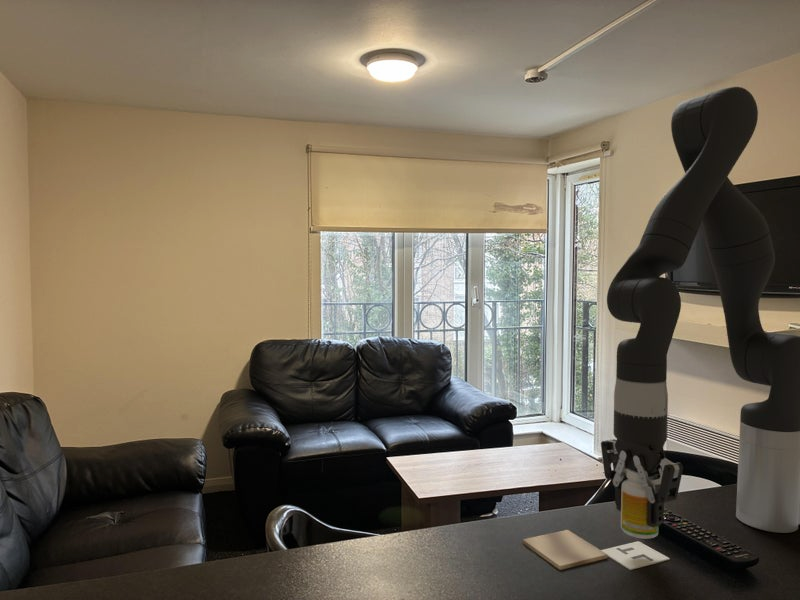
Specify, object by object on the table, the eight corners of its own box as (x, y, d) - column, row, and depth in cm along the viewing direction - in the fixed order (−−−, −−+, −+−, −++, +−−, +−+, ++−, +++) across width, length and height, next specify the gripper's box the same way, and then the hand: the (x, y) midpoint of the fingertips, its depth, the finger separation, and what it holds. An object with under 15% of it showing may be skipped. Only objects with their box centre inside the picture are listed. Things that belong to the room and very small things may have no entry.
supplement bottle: (662, 541, 86) (663, 476, 85) (623, 538, 87) (625, 474, 86) (654, 525, 91) (655, 464, 90) (617, 522, 92) (618, 462, 91)
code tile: (638, 542, 93) (638, 541, 93) (669, 559, 88) (669, 558, 88) (600, 551, 90) (600, 550, 90) (630, 570, 84) (630, 568, 84)
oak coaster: (567, 533, 96) (567, 529, 96) (607, 558, 88) (607, 554, 88) (522, 543, 92) (522, 539, 92) (559, 570, 84) (560, 566, 84)
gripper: (699, 416, 83) (696, 532, 84) (622, 396, 96) (620, 496, 97) (661, 423, 79) (658, 542, 80) (587, 400, 93) (585, 504, 94)
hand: (638, 517), depth 89 cm, fingers closed on supplement bottle, 5 cm apart
